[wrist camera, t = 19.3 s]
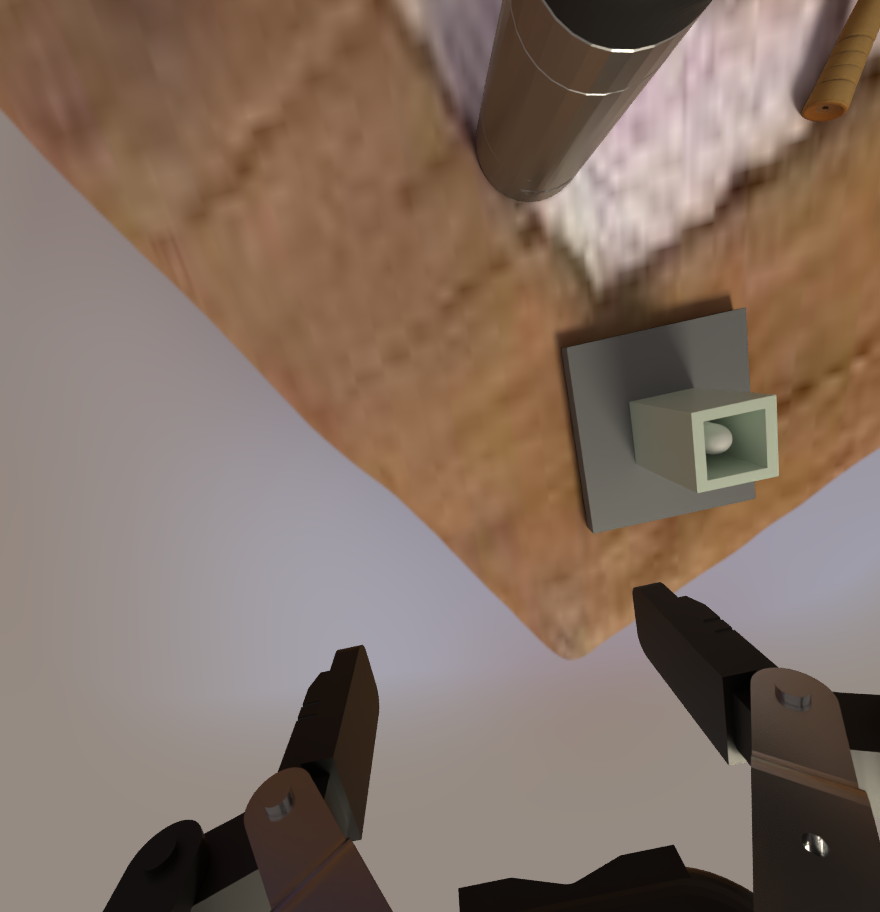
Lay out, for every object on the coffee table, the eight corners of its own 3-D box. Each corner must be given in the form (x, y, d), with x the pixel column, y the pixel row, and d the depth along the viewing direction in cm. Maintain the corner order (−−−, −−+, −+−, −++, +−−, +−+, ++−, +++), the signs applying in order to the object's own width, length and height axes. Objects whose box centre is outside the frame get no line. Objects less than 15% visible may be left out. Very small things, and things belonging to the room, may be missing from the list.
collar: (629, 401, 37) (691, 413, 29) (694, 387, 37) (776, 394, 29) (636, 464, 39) (697, 493, 30) (698, 450, 39) (778, 476, 30)
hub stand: (561, 348, 38) (603, 343, 29) (733, 309, 37) (830, 292, 28) (587, 527, 42) (632, 572, 33) (743, 493, 41) (831, 529, 32)
